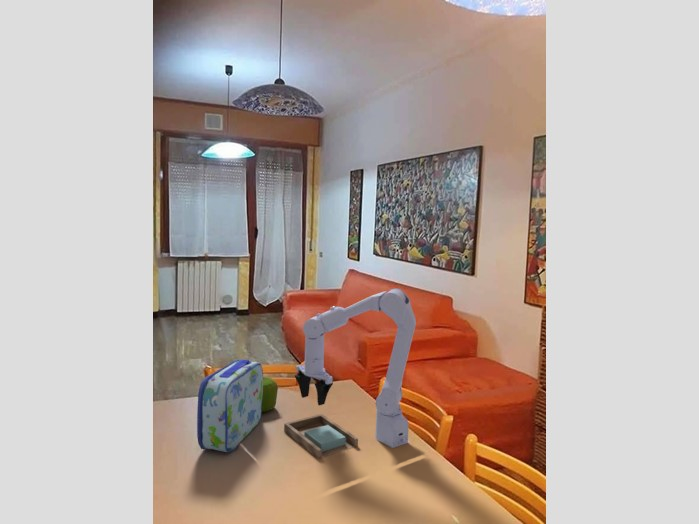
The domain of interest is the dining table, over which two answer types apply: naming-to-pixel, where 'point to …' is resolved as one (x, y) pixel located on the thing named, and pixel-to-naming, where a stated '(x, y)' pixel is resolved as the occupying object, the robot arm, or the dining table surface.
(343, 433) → the box
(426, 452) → the dining table surface
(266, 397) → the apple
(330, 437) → the teal square tile
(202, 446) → the lunch box
